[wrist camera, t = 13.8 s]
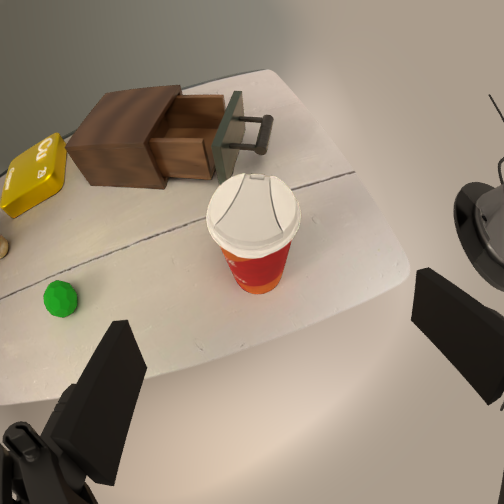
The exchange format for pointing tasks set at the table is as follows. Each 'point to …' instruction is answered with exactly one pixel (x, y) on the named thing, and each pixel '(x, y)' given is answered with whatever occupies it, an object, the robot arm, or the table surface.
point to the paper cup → (254, 228)
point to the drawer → (204, 136)
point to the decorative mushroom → (3, 246)
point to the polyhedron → (60, 299)
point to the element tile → (34, 176)
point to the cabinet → (122, 138)
